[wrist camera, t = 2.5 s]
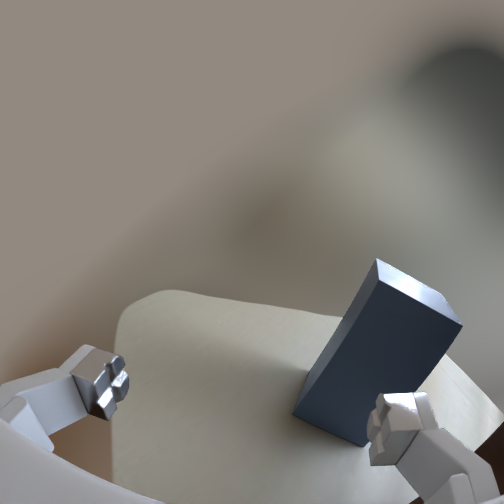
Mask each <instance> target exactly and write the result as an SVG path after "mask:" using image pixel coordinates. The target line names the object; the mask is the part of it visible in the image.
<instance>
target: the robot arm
mask: <svg viewBox="0 0 504 504" xmlns="http://www.w3.org/2000/svg"><path fill="white" fill-rule="evenodd" d="M124 366H125V362H124V358H123V357H122V356H120V355H117V354H114V353H111V352H108V351H105V350H102V349H99V348H95V347H93V346H90V345H87V344H86V345H82V346H81V347H80V348H79V349H78V350H77V351H76V352H75V353H74V354H73V355H72V356H71V357H70V358H68V359H67V360H66V361H65V362H64V363H63V364H62V365H61V366H60V367H59V368H58V369H57V368H52V369H49V370H46V371H43V372H40V373H36V374H33V375H30V376H27V377H23V378H20V379H17V380H13V381H10V382H6V383H3V384H2V385H1V386H0V504H167V503H163V502H160V501H157V500H154V499H151V498H148V497H146V496H143V495H140V494H137V493H135V492H132V491H130V490H127V489H125V488H122V487H120V486H117V485H115V484H113V483H110V482H108V481H106V480H103V479H101V478H99V477H97V476H95V475H93V474H91V473H88V472H87V471H85V470H82V469H81V468H78V467H77V466H75V465H73V464H71V463H69V462H67V461H66V460H64V459H62V458H60V457H58V456H57V455H55V454H53V453H52V451H53V450H54V445H53V443H52V442H51V440H50V439H49V437H48V435H50V434H52V433H54V432H56V431H58V430H60V429H62V428H64V427H66V426H68V425H70V424H72V423H74V422H76V421H77V420H79V419H81V418H83V417H85V416H87V415H88V414H90V415H93V416H96V417H98V418H101V419H104V420H106V421H109V419H110V418H111V417H112V415H113V414H114V412H115V411H116V410H117V404H116V403H117V402H120V401H122V400H123V399H124V398H125V396H126V395H127V392H128V389H129V377H128V374H127V373H126V372H125V371H124V370H123V368H124ZM367 439H368V440H369V441H370V442H371V443H372V444H371V446H370V448H369V457H370V465H371V466H387V465H396V468H397V469H398V470H399V471H400V473H401V474H402V475H403V476H404V478H405V479H406V480H407V481H408V482H409V484H410V485H411V486H412V487H413V489H414V490H415V491H416V492H417V493H418V495H419V496H420V497H421V498H422V500H423V501H424V502H425V503H424V504H504V495H501V496H500V492H499V489H498V486H497V483H496V480H495V477H494V474H493V471H492V468H491V465H490V464H488V463H487V462H486V461H485V460H483V459H482V458H481V457H479V456H478V455H477V454H476V453H474V452H473V451H472V450H470V449H469V448H468V447H467V446H465V445H464V444H463V443H462V442H460V441H459V440H458V439H457V438H455V437H454V436H453V435H451V434H450V433H449V432H448V431H446V430H445V429H444V428H439V426H438V423H437V420H436V418H435V415H434V412H433V409H432V407H431V404H430V401H429V399H428V396H427V394H426V393H425V392H410V393H408V392H407V393H380V394H379V395H378V397H377V399H376V408H375V409H374V410H372V411H371V413H370V416H369V418H368V423H367Z"/></svg>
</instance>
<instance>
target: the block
mask: <svg viewBox="0 0 504 504" xmlns="http://www.w3.org/2000/svg"><path fill="white" fill-rule="evenodd" d="M462 327H463V325H462V324H461V322H460V321H459V319H458V318H457V316H456V315H455V313H454V311H453V310H452V309H451V307H450V306H449V304H448V303H447V301H446V300H445V298H444V297H443V295H442V294H440V293H438V292H437V291H435V290H433V289H432V288H429V287H428V286H426V285H424V284H423V283H421V282H419V281H417V280H416V279H413V278H412V277H410V276H408V275H407V274H405V273H403V272H401V271H399V270H397V269H396V268H394V267H392V266H390V265H388V264H386V263H385V262H383V261H381V260H379V259H377V258H376V259H375V261H374V263H373V265H372V267H371V269H370V271H369V273H368V275H367V277H366V279H365V280H364V282H363V284H362V286H361V287H360V289H359V291H358V293H357V295H356V297H355V298H354V300H353V302H352V304H351V305H350V307H349V309H348V311H347V312H346V314H345V316H344V317H343V319H342V321H341V322H340V324H339V326H338V327H337V329H336V331H335V332H334V334H333V335H332V337H331V339H330V340H329V342H328V343H327V345H326V347H325V348H324V350H323V351H322V353H321V354H320V356H319V358H318V359H317V361H316V362H315V364H314V365H313V367H312V368H311V370H310V372H309V374H308V377H307V379H306V381H305V384H304V386H303V389H302V391H301V393H300V396H299V398H298V400H297V403H296V405H295V407H294V410H293V412H292V414H293V415H295V416H297V417H299V418H301V419H303V420H305V421H307V422H309V423H311V424H313V425H315V426H317V427H319V428H321V429H323V430H325V431H328V432H330V433H332V434H334V435H336V436H339V437H341V438H343V439H345V440H348V441H350V442H352V443H355V444H357V445H359V446H362V447H364V446H365V445H366V444H367V443H368V442H369V440H368V439H367V423H368V418H369V416H370V413H371V411H372V410H374V409H375V408H376V399H377V397H378V395H379V394H380V393H407V392H408V393H410V392H416V390H417V389H418V388H419V387H420V386H421V384H422V383H423V382H424V381H425V379H426V378H427V377H428V375H429V374H430V373H431V372H432V370H433V369H434V368H435V366H436V365H437V364H438V362H439V361H440V359H441V358H442V357H443V355H444V354H445V353H446V351H447V350H448V348H449V347H450V345H451V344H452V342H453V341H454V339H455V338H456V336H457V335H458V333H459V332H460V330H461V328H462Z"/></svg>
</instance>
